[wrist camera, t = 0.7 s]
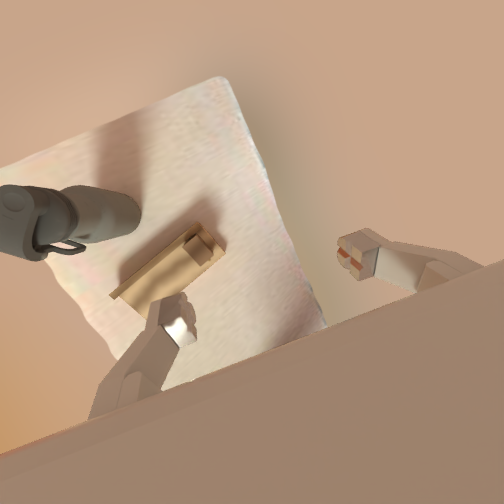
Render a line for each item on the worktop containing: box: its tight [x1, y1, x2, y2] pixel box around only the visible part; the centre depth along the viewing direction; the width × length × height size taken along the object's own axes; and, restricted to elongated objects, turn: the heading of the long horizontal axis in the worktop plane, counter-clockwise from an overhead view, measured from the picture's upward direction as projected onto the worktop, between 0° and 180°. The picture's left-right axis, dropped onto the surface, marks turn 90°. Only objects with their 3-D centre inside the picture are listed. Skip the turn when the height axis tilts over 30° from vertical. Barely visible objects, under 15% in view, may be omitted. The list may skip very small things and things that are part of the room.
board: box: [109, 222, 226, 320], centre depth 51 cm, size 11×26×4 cm, turn 128°
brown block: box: [182, 234, 214, 267], centre depth 50 cm, size 7×4×5 cm, turn 38°
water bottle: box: [0, 185, 141, 261], centre depth 35 cm, size 10×10×28 cm
